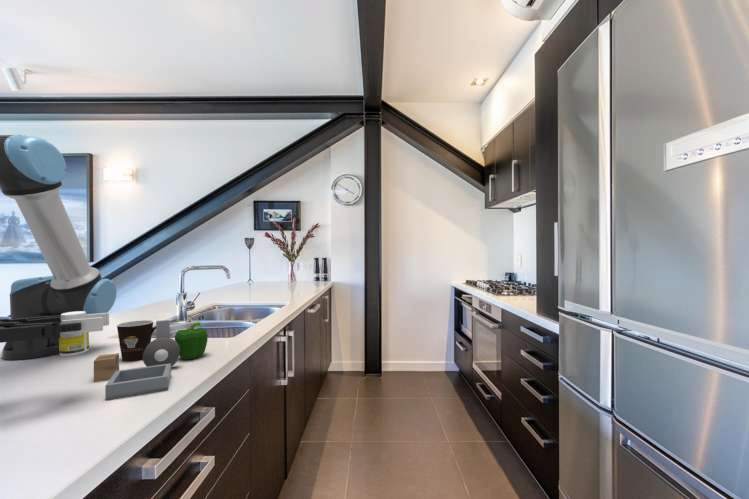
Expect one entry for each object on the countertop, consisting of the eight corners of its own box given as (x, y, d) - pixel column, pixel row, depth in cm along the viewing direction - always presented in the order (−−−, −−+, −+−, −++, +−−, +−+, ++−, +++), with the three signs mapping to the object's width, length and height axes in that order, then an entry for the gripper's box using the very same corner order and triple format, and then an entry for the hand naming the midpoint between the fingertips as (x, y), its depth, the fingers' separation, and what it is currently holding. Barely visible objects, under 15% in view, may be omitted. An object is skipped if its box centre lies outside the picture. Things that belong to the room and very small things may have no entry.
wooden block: (99, 375, 86) (99, 355, 86) (119, 372, 88) (119, 353, 88) (93, 382, 81) (93, 361, 81) (114, 379, 83) (114, 358, 83)
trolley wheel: (146, 366, 92) (145, 321, 92) (180, 362, 95) (180, 318, 95) (142, 373, 86) (142, 325, 86) (179, 368, 90) (178, 322, 90)
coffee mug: (109, 362, 96) (108, 326, 96) (134, 353, 104) (134, 320, 104) (146, 363, 94) (146, 327, 94) (169, 354, 103) (169, 320, 103)
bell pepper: (168, 362, 95) (167, 325, 96) (184, 353, 104) (183, 320, 104) (198, 361, 96) (198, 325, 96) (212, 352, 104) (212, 319, 104)
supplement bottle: (74, 349, 75) (73, 310, 75) (95, 349, 75) (94, 310, 75) (52, 356, 70) (51, 315, 70) (75, 356, 70) (74, 315, 70)
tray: (116, 383, 80) (116, 370, 80) (171, 375, 85) (171, 363, 85) (105, 400, 71) (105, 385, 71) (167, 390, 76) (167, 376, 76)
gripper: (-22, 343, 72) (115, 329, 83) (-86, 370, 56) (94, 349, 67) (-23, 307, 72) (114, 298, 83) (-87, 324, 56) (93, 310, 67)
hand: (105, 321), depth 75 cm, fingers closed on supplement bottle, 5 cm apart
